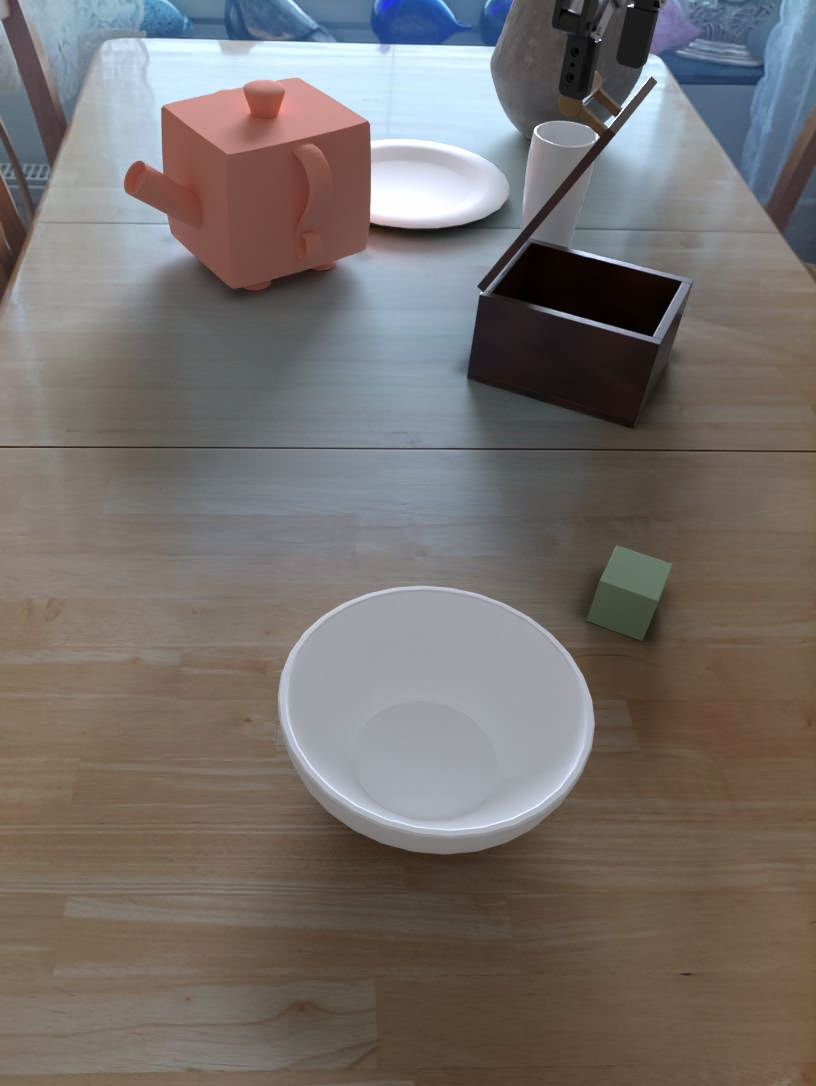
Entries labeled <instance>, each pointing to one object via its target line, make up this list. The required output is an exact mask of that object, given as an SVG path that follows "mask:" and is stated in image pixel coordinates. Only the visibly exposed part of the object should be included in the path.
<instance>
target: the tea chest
mask: <svg viewBox="0 0 816 1086" xmlns="http://www.w3.org/2000/svg"><path fill="white" fill-rule="evenodd" d="M694 280H695V279H692V278H688V277H684V276H681V275H677V274H672V273H668V272H665V271H661V270H657V269H654V268H648V267H645V266H643V265H642V266H641V265H638V264H635V263H629V262H626V261H622V260H618V259H614V258H611V257H606V256H602V255H598V254H595V253H591V252H586V251H583V250H579V249H574V248H572V247H570V248H568V247H564V246H560V245H556V244H552V243H548V242H544V241H540V240H536V239H532V238H529V239H528V240H527V241H526V242H525V244H524V245H523V246H522V247H521V248H520V250H519V251H518V252H517V253H516V254H515V255H514V257H513V258H512V259H511V260H510V261H509V263H508V264H507V265H506V266H505V267H504V269H503V270H502V271H501V272H500V273H499V275H498V276H497V277H496V278H495V279H494V281H493V282H492V283H491V284H490V285H489V287H488V288H487V289H486V290H485V291H484V292H482V291H480V293H479V295H478V300H477V301H478V302H477V308H476V314H475V320H474V321H475V322H474V327H473V334H472V342H471V347H470V348H471V349H470V354H469V360H468V367H467V373H466V379H469V380H472V381H475V382H478V383H482V384H485V385H489V386H490V387H491V386H492V387H495V388H498V389H502V390H504V391H509V392H512V393H514V394H518V395H521V396H524V397H527V398H531V399H534V400H537V401H541V402H544V403H548V404H550V405H554V406H557V407H560V408H564V409H567V410H571V411H574V412H577V413H580V414H583V415H587V416H590V417H593V418H597V419H600V420H603V421H606V422H610V423H613V424H616V425H620V426H623V427H626V428H630V429H634V428H635V427H636V424H637V422H638V421H639V419H640V417H641V415H642V413H643V410H644V409H645V407H646V406H647V402H648V401H649V399H650V396H651V395H652V392H653V391H654V389H655V388H656V387H655V386H656V385H657V383H658V381H659V379H660V377H661V375H662V373H663V371H664V369H665V367H666V365H667V363H668V360H669V357H670V355H671V351H672V349H673V345H674V342H675V340H676V336H677V333H678V330H679V327H680V324H681V321H682V318H683V315H684V312H685V309H686V306H687V303H688V300H689V296H690V293H691V292H692V291H691V290H692V287H693V284H694Z"/></svg>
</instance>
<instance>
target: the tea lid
mask: <svg viewBox="0 0 816 1086" xmlns="http://www.w3.org/2000/svg"><path fill="white" fill-rule="evenodd" d="M657 84H658V81H657V80H656V79H655V78H654V77H653V76H652V75H650V76H649V77H648V78H647V80H646V81H645V82H644V83H643V84H642V85H641V86H640V88H639V89H638V90H637V91H636V92H635V94H634V95H633V96H632V98H631V99H630V100H629V101H628V103H627V104H626V105H625V106H624V107H622V106H620V105H619V104H617V103H616V102H615V101H614V100H613V99H612V98H611V97H610V96H609V95H608V94H607V93H606V92H605V91H604V90H603V89H602V88H601V86H602V78H601V75H600V74H599V72H597V71H596V70H595V75H594V80H593V85H592V90H591V93H590V95H589V96H588V97H586V98H585V99H583V100H576V99H573V98H570V97H566V96H563V95H561V97H560V99H559V103H558V105H559V109H560V112H561V113H562V114H563V115H564V116H566V117H575V116H576V115H577V116H578V117H579V118H580V119H581V120H583V121H584V122H585V123H586V124H587V125H588V126H589V127H590V128H591V129H592V130H593V131H594V132H595V133H596V134H597V135H598V136H599V139H598V140H597V141H596V143H595V144H594V145H593V146H592V147H591V149H590V150H589V151H588V152H587V154H586V155H585V156H584V157H583V158H582V160H581V161H580V162H579V163H578V164H577V166H576V167H575V168H574V169H573V171H572V172H571V173H570V174H569V175H568V177H567V178H566V179H565V180H564V181H563V183H562V184H561V185H560V186H559V188H558V189H557V190H556V191H555V192H554V194H553V195H552V196H551V197H550V198H549V200H548V201H547V202H546V203H545V205H544V206H543V207H542V208H541V209H540V211H539V212H538V213H537V214H536V215H535V217H534V218H533V219H532V220H531V222H530V223H529V224H528V225H527V226H526V228H525V229H524V230H523V231H522V232H521V234H520V233H519V235H517V237H516V238H515V240H514V241H513V242H512V243H511V244H510V246H509V247H508V248H507V249H506V251H505V252H504V253H503V254H502V255H501V256H500V258H499V259H498V260H497V262H496V263H495V264H494V265H493V266H492V267H491V269H490V270H489V272H487V274H486V275H485V276H484V278H483V279H481V281H480V282H479V283H478V284H477V288H478V289H479V290H480V292H484V291H485V290H486V289H487V288H488V287H489V285H490V284H491V283H492V282H493V281H494V279H495V278H496V277H497V276H498V275H499V273H500V272H501V271H502V270H503V269H504V267H505V266H506V265H507V264H508V263H509V261H510V260H511V259H512V258H513V257H514V255H515V254H516V253H517V252H518V251H519V250H520V248H521V247H522V246H523V245H524V244H525V242H526V241H527V240H528V239H529V238H530V236H531V235H532V234H533V233H534V232H535V230H536V229H537V228H538V227H539V226H540V224H541V223H542V222H543V221H544V220H545V218H546V217H547V216H548V215H549V214H550V213H551V211H552V210H553V209H554V208H555V207H556V205H557V204H558V203H559V202H560V201H561V199H562V198H563V197H564V196H565V195H566V193H567V192H568V191H569V190H570V189H571V187H572V186H573V185H574V184H575V183H576V181H577V180H578V179H579V178H580V177H581V176H582V174H583V173H584V172H585V171H586V170H587V168H588V167H589V166H590V165H591V164H592V162H593V161H594V160H595V161H596V159H597V158H598V157H599V155H601V153H602V152H603V150H605V148H606V147H607V146H608V145H609V143H610V142H611V141H612V140H613V139H614V137H615V136H616V135H617V134H618V133H619V132H620V130H621V129H622V127H623V126H624V125H625V124H626V123H627V121H628V120H629V119H630V118H631V116H632V115H633V113H635V111H636V110H637V109H638V107H640V105H641V104H642V102H643V101H644V100H645V99H646V97H647V96H648V95H649V94H650V93H651V91H652V90H653V89H654V88H655V86H656V85H657ZM593 97H594V98H595V99H596V100H597V101H598V102H599V103H600V104H601V105H602V106H604V107H605V108H606V109H607V110H608V111H609V112H610V113H611V114H612V116H613V117H614V119H613V120H612V122H611V123H610V124H609V125H608V126H607V125H606V124H605V123H603V122H602V121H601V120H600V119H599V118H598V117H597V116H595V115H594V114H593V113H592V112H591V111H590V110H589V109H588V108H587V107H586V105H587V104H588V103H589V102H590V101H591V99H592V98H593Z"/></svg>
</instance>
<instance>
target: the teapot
mask: <svg viewBox="0 0 816 1086" xmlns="http://www.w3.org/2000/svg"><path fill="white" fill-rule="evenodd" d="M160 114H161V115H160V123H161V124H160V128H161V130H160V131H161V156H162V157H161V159H162V172H161V171H159V170H158V169H156V168H154V167H153V166H151V165H149V164H148V163H146V162H144V161H143V160H136V161H135V162H133V163H132V164H131V165H130V166H129V168H128V169H127V171H126V172H125V176H124V179H123V189H124V192H125V193H126V194H127V195H128V196H131V197H133V198H135V199H137V200H139V201H140V202H142V203H144V204H146V205H148V206H150V207H152V208H153V209H156V210H158V211H159V212H162V213H164V214H166V216H167V221H168V225H169V226H168V227H169V231H170V234H171V235H172V237H173V238H175V239H176V240H177V241H178V242H179V243H180V244H181V245H182V246H183V247H184V248H185V249H186V250H187V251H189V252H190V253H191V254H192V255H193V256H194V257H195V258H196V259H197V260H198V261H199V262H200V263H202V264H203V265H204V266H205V267H206V268H207V269H209V270H210V271H211V272H212V273H213V274H214V275H215V276H216V277H218V278H219V280H221V281H222V282H224V284H226V285H227V286H228V287H230V288H231V289H234V290H236V289H241V288H242V289H245V290H248V291H261V290H265V289H267V288H269V287H270V286H271V283H272V281H273V280H276V279H279V278H284V277H286V276H290V275H293V274H297V273H300V272H304V271H307V270H310V269H311V270H314V271H328V270H331V269H333V268H334V267H335V266H336V261H338V260H341V259H344V258H348V257H350V256H353V255H356V254H359V253H361V252H364V251H366V249H367V245H368V240H369V233H370V228H371V227H370V225H371V224H370V209H371V141H372V139H371V123H370V122H369V120H367V119H366V118H364V117H363V116H361V115H360V114H358V113H357V112H355V111H354V110H353V109H350V108H349V107H347V106H346V105H344V104H342V103H341V102H340V101H338V100H336V99H335V98H333V97H331V96H330V95H328V94H326V93H325V92H323V91H322V90H320V89H318V88H317V87H315V86H313V85H311V84H310V83H308V82H306V81H305V80H303V79H301V78H300V77H288V78H284V79H283V78H282V79H278V80H273V79H267V78H266V79H265V78H264V79H255V80H251V81H249V82H247V83H244V85H243V86H241V87H236V88H232V89H227V88H226V89H220V90H217V91H216V92H213V93H209V94H204V95H200V96H195V97H190V98H186V99H182V100H177V101H174V102H169V103H167V104H164V105H163V104H162V106H161V108H160Z"/></svg>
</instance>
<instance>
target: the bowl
mask: <svg viewBox="0 0 816 1086" xmlns="http://www.w3.org/2000/svg"><path fill="white" fill-rule="evenodd" d="M277 707H278V717H279V727H280V734H281V737H282V741H283V743H284V746H285V749H286V752H287V754H288V758H289V760H290V762H291V764H292V766H293V769H294V770H295V772H296V773H297V775H298V777H299V778H300V780H301V782H302V783H303V784H304V786H305V788H306V789H307V791H308V792H309V793H310V794H311V796H312V797H313V798H314V799H315V800H316V801H317V802H318V803H319V804H320V805H321V806H322V807H323V808H324V809H325V810H326V812H327V813H329V814H330V815H331V816H333V817H334V818H335V819H337V820H338V821H339V822H341V823H342V824H344V825H346V826H347V827H348V828H349V829H351V830H353V831H354V832H356V833H359V834H361V835H363V836H365V837H367V838H369V839H372V840H373V841H376V842H378V843H380V844H382V845H387V846H390V847H393V848H398V849H402V850H406V851H409V852H413V853H424V854H433V855H434V854H437V855H454V854H465V853H476V852H480V851H483V850H487V849H491V848H494V847H497V846H500V845H505V844H507V843H509V842H511V841H513V840H515V839H517V838H519V837H520V836H522V835H524V834H526V833H528V832H530V831H532V829H534V828H536V827H537V825H539V824H540V823H541V822H542V821H544V820H545V819H546V818H547V817H548V816H549V815H551V814H552V813H554V812H555V810H556V809H558V807H560V806H561V805H562V803H563V802H564V801H565V800H566V798H567V796H568V795H569V794H570V792H571V791H572V790H573V789H574V787H575V786H576V784H577V783H578V781H579V779H580V778H581V776H582V773H583V772H584V769H585V766H586V764H587V762H588V760H589V757H590V755H591V753H592V749H593V744H594V743H593V741H594V733H595V726H596V722H595V721H596V720H595V713H594V705H593V699H592V695H591V693H590V689H589V687H588V684H587V682H586V678H585V676H584V675H583V673H582V671H581V670H580V667H579V666H578V665H577V663H576V661H575V659H574V658H573V656H572V655H571V654H570V653H569V651H568V650H567V649H566V648H565V647H564V646H563V645H562V644H561V643H560V642H559V641H558V640H557V638H555V636H554V635H553V634H552V633H551V632H550V631H548V630H547V629H546V628H544V626H542V625H540V624H539V623H538V622H536V621H535V620H534V619H533V618H532V617H530V616H529V615H527V614H524V613H523V612H521V611H519V610H517V609H516V608H514V607H512V606H510V605H508V604H507V603H504V602H502V601H499V600H496V599H494V598H491V597H488V596H485V595H483V594H480V593H477V592H472V591H467V590H462V589H459V588H454V587H445V586H433V585H414V586H397V587H392V588H387V589H382V590H378V591H373V592H369V593H366V594H364V595H361V596H359V597H356V598H353V599H351V600H348V601H346V602H344V603H341V604H340V605H339V606H336V607H335V608H333V609H332V610H330V611H329V612H326V613H325V614H324V615H322V616H321V617H320V618H319V619H318V620H316V622H314V623H313V624H312V625H311V626H310V627H309V628H308V629H306V630H305V631H304V632H303V634H302V635H301V637H300V638H299V639H298V641H297V642H296V643H295V645H294V646H293V647H292V649H291V651H290V652H289V654H288V656H287V659H286V662H285V664H284V665H283V669H282V671H281V673H280V679H279V685H278V693H277Z"/></svg>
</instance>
